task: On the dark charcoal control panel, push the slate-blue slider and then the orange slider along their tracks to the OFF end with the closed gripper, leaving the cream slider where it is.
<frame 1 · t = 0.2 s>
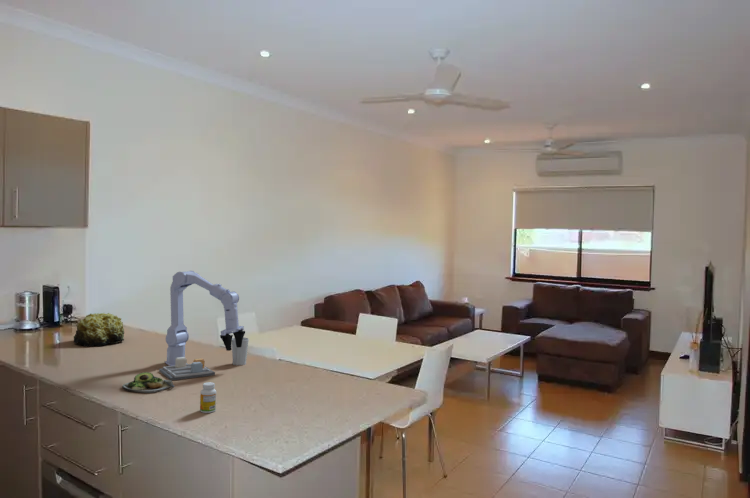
hand: (234, 348, 251), 10 cm above the worktop, tool pointing down, fingers open, 7 cm apart
slider orange: (198, 364, 248), point 4 cm above the worktop, slide at 0.0 cm
supplement bottle: (207, 411, 197), on the worktop
slider blue: (196, 368, 242), point 4 cm above the worktop, slide at 0.0 cm
mossy green rock: (98, 342, 301), on the worktop
salad plate: (147, 388, 223), on the worktop
panel: (187, 373, 246), on the worktop
cup: (239, 364, 267), on the worktop
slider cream: (180, 362, 249), point 4 cm above the worktop, slide at 0.0 cm
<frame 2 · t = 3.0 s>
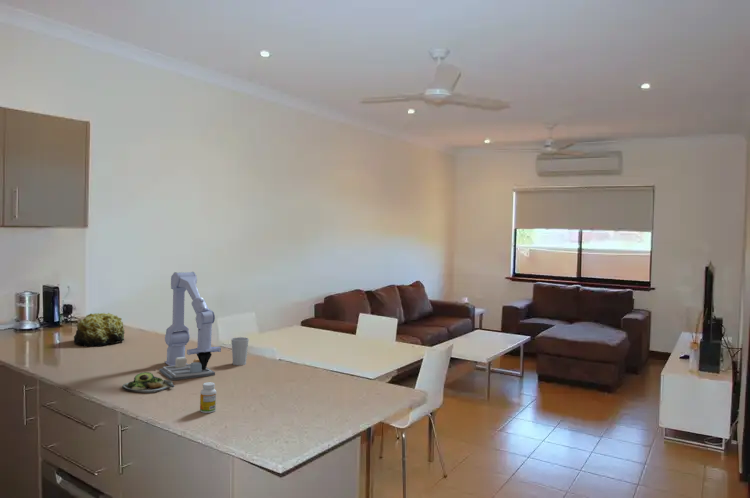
hand: (203, 369, 244), 3 cm above the worktop, tool pointing down, fingers closed
slider blue: (195, 368, 241), point 4 cm above the worktop, slide at 0.4 cm, touching gripper
everything else where it was.
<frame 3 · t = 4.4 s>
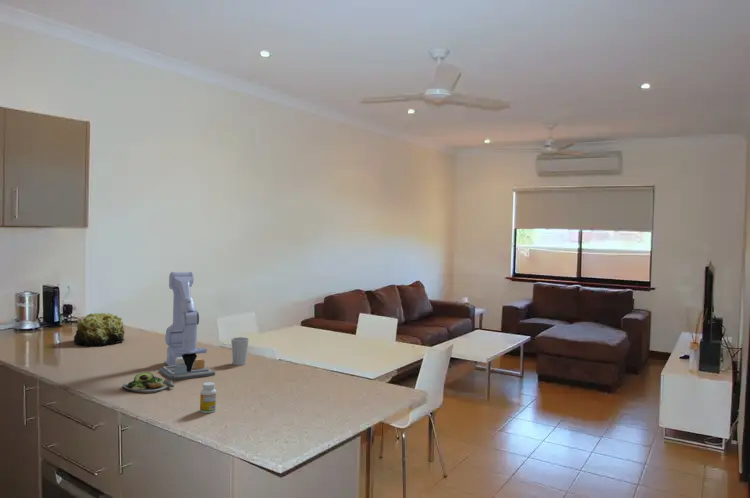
hand: (188, 371, 240), 3 cm above the worktop, tool pointing down, fingers closed
slider blue: (180, 369, 238), point 4 cm above the worktop, slide at 6.9 cm, touching gripper
everything else where it was.
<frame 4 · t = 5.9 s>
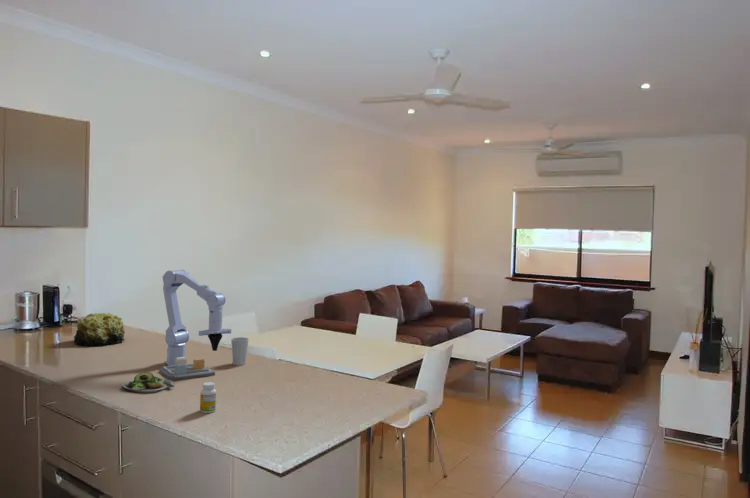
hand: (214, 350, 252), 9 cm above the worktop, tool pointing down, fingers closed
slider blue: (180, 369, 238), point 4 cm above the worktop, slide at 6.9 cm
everything else where it was.
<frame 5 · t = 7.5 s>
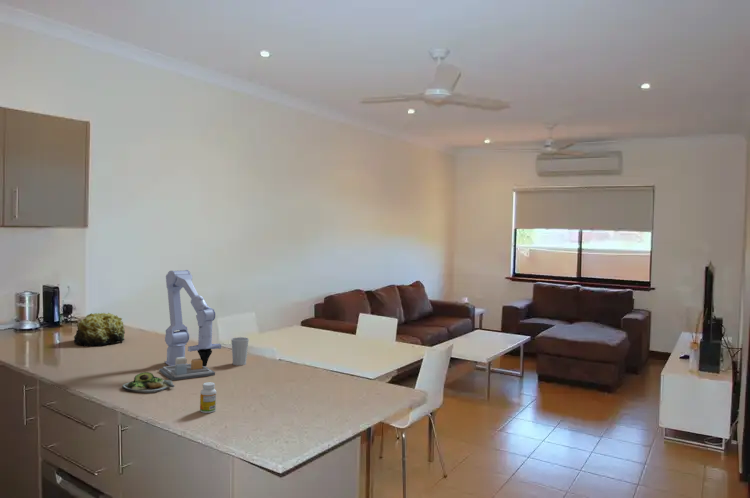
hand: (204, 365, 250), 3 cm above the worktop, tool pointing down, fingers closed
slider orange: (196, 364, 248), point 4 cm above the worktop, slide at 0.9 cm, touching gripper
everything else where it was.
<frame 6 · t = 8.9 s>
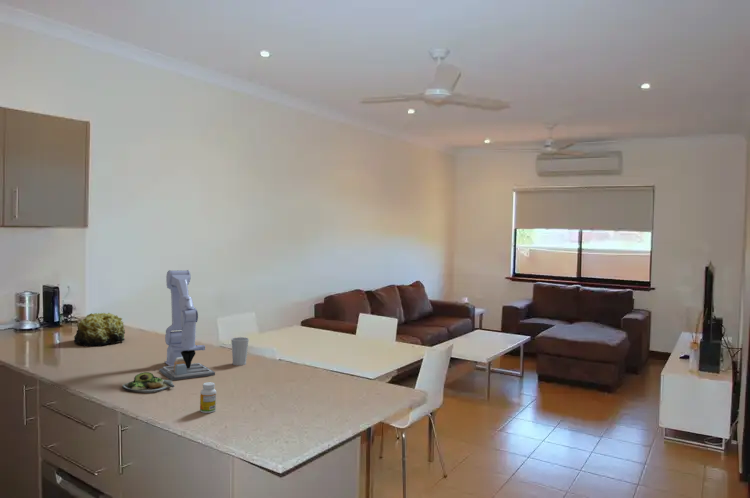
hand: (187, 367, 245), 3 cm above the worktop, tool pointing down, fingers closed
slider orange: (179, 366, 243), point 4 cm above the worktop, slide at 8.4 cm, touching gripper
everything else where it was.
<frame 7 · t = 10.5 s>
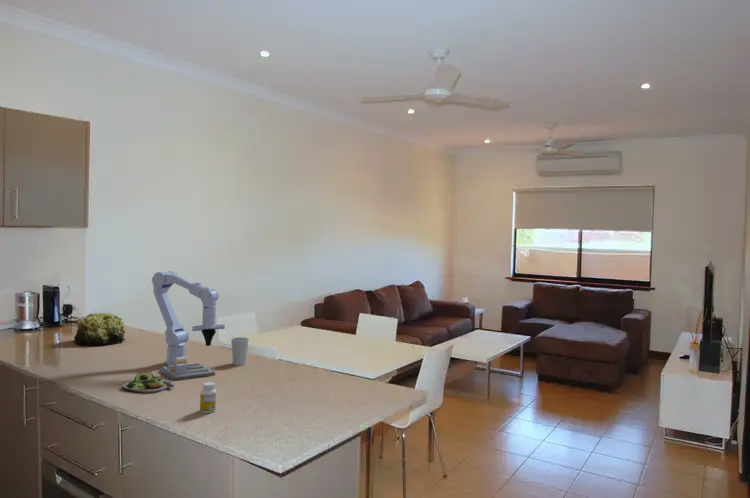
hand: (208, 345, 256), 10 cm above the worktop, tool pointing down, fingers closed
slider orange: (179, 366, 243), point 4 cm above the worktop, slide at 8.4 cm
everything else where it was.
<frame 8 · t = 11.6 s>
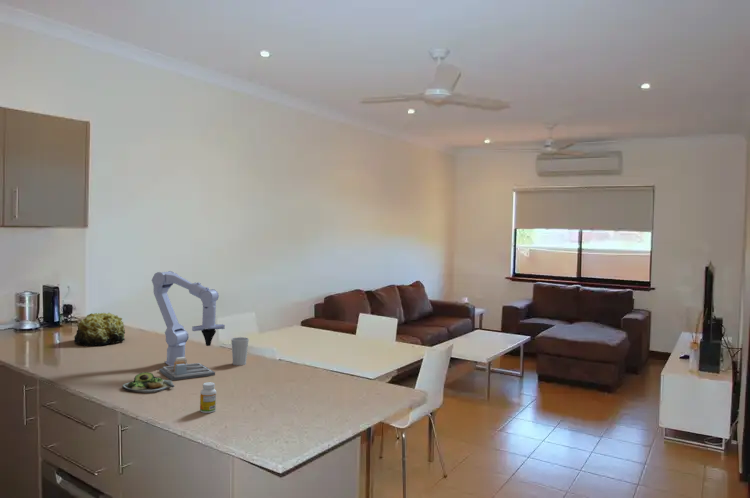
hand: (208, 345, 256), 10 cm above the worktop, tool pointing down, fingers closed
nothing on the worktop moved.
at the end: slider blue slide at 6.9 cm; slider orange slide at 8.4 cm; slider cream slide at 0.0 cm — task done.
